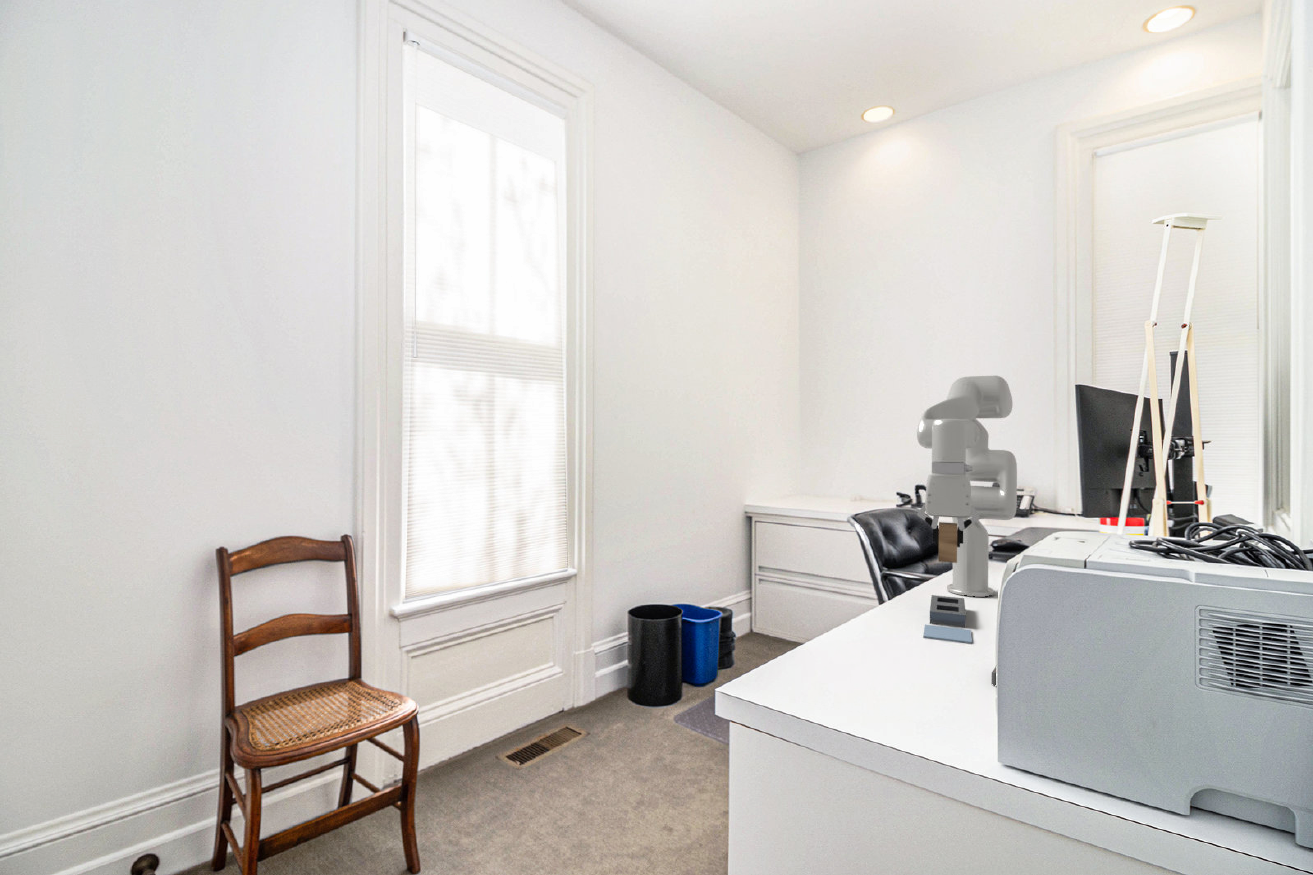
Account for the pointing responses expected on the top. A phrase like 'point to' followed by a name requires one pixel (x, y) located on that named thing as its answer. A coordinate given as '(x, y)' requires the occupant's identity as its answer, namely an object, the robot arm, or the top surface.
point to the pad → (947, 634)
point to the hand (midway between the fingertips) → (947, 545)
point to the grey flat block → (947, 611)
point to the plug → (948, 542)
